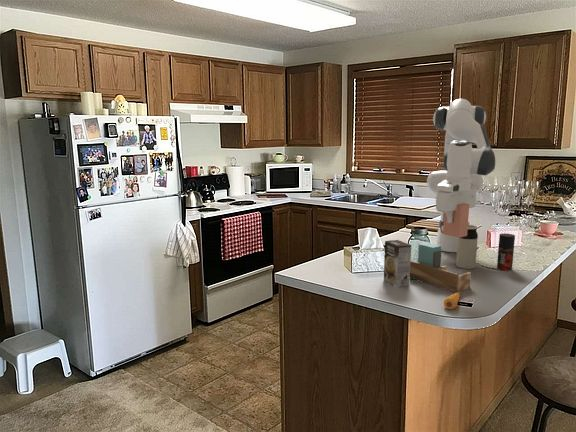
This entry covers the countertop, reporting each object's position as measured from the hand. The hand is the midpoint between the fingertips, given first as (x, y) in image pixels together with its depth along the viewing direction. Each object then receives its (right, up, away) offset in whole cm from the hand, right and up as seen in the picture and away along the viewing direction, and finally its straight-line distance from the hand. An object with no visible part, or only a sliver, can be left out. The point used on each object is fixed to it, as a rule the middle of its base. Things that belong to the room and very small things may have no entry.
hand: (455, 221), depth 175 cm
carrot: (-4, -28, -11) cm, 30 cm away
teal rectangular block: (-6, -21, +13) cm, 26 cm away
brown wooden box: (-4, -24, +9) cm, 26 cm away
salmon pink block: (0, -5, +1) cm, 5 cm away
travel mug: (+15, -20, +29) cm, 38 cm away
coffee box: (-20, -24, +9) cm, 33 cm away
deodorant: (+30, -21, +25) cm, 44 cm away
